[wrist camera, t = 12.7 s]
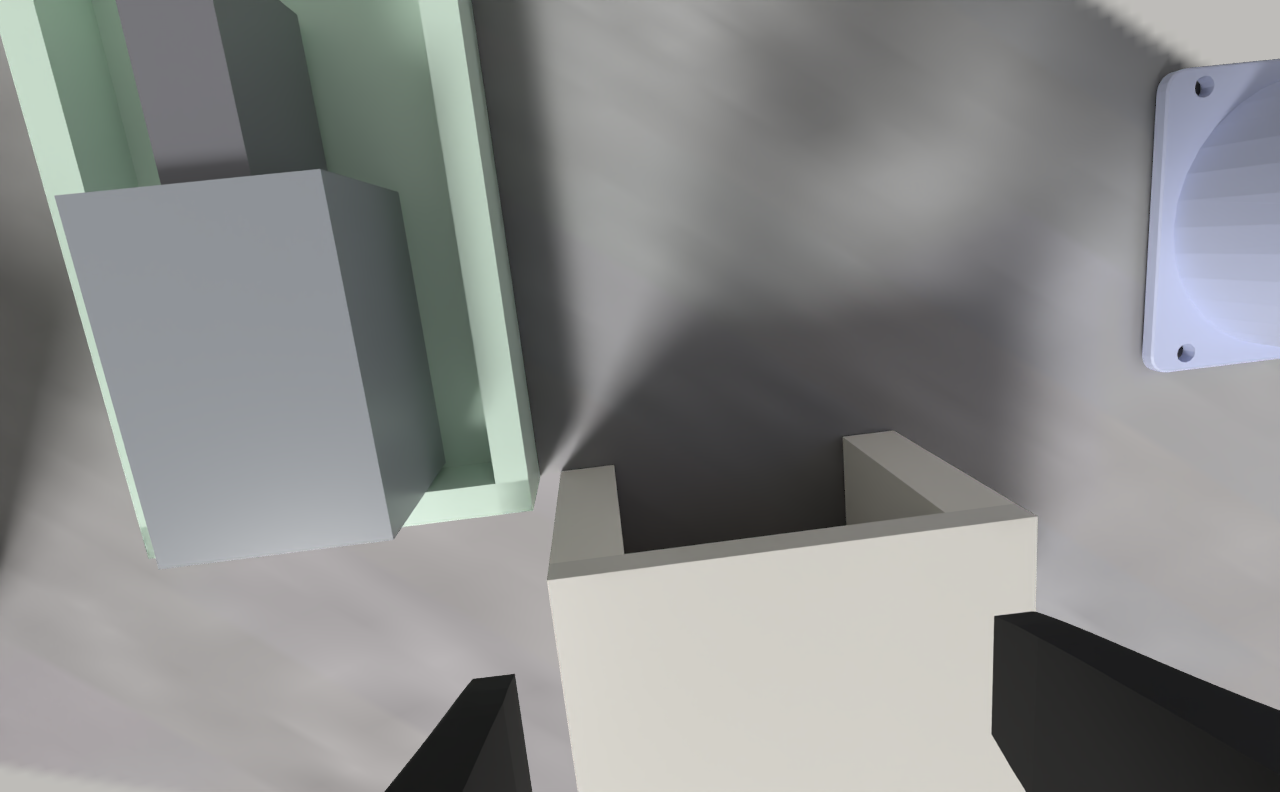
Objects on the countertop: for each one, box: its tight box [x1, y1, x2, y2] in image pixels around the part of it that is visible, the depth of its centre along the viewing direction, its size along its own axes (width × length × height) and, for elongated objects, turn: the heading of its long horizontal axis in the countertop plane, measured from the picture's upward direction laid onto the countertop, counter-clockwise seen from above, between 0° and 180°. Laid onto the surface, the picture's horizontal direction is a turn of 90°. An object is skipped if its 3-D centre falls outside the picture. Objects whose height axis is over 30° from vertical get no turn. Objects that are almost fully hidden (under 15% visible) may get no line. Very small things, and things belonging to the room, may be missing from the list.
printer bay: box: [547, 430, 1038, 792], centre depth 17 cm, size 10×8×6 cm
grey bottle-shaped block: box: [54, 0, 446, 569], centre depth 15 cm, size 4×11×5 cm, turn 6°
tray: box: [0, 0, 540, 559], centre depth 16 cm, size 9×15×2 cm, turn 6°
